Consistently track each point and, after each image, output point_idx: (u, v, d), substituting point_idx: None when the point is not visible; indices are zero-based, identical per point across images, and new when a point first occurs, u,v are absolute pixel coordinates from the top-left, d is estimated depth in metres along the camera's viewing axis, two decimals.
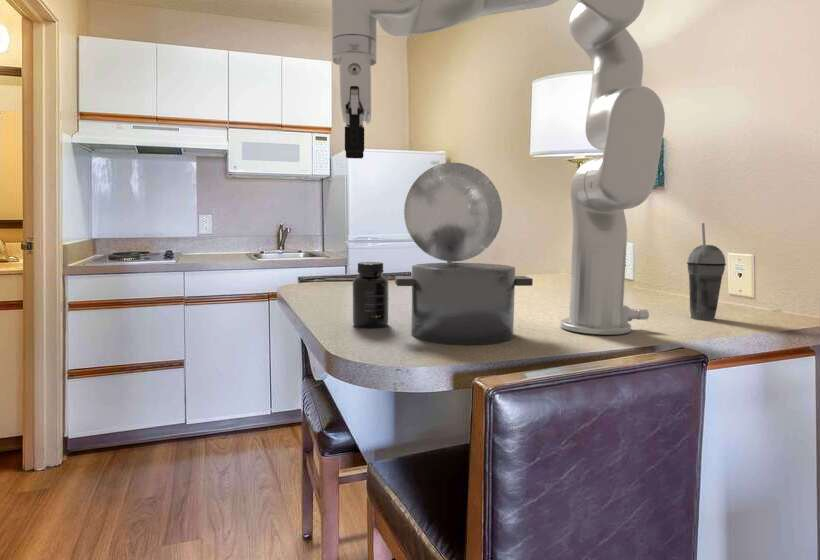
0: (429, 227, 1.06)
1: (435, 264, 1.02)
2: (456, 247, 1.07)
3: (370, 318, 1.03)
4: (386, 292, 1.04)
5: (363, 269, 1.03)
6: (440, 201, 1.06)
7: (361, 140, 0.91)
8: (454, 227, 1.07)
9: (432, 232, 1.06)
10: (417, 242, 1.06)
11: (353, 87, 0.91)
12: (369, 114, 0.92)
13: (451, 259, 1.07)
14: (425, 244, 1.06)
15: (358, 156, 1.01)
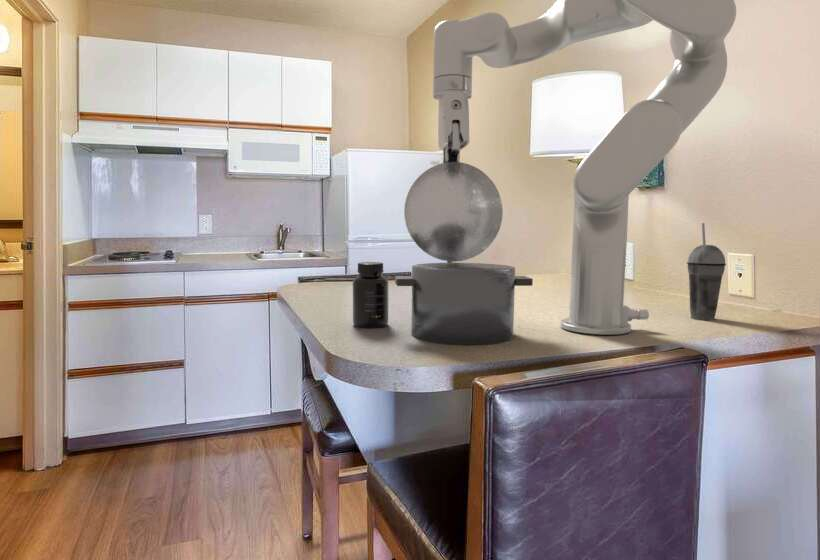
0: (429, 227, 1.06)
1: (435, 264, 1.02)
2: (456, 247, 1.07)
3: (370, 318, 1.03)
4: (386, 292, 1.04)
5: (363, 269, 1.03)
6: (440, 201, 1.06)
7: None
8: (454, 227, 1.07)
9: (432, 232, 1.06)
10: (417, 242, 1.06)
11: (454, 126, 1.05)
12: (467, 143, 1.06)
13: (451, 259, 1.07)
14: (425, 244, 1.06)
15: None
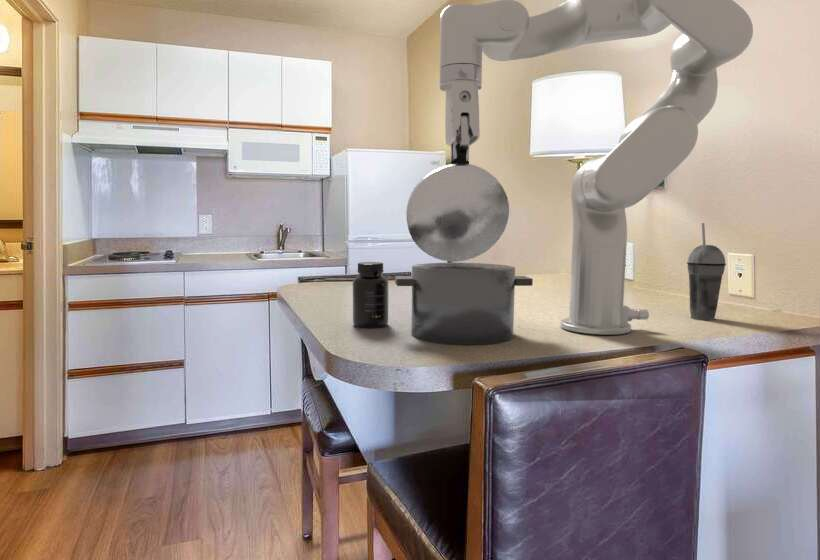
0: (431, 230, 1.03)
1: (435, 264, 1.02)
2: (457, 249, 1.06)
3: (370, 318, 1.03)
4: (386, 292, 1.04)
5: (363, 269, 1.03)
6: (445, 205, 1.01)
7: None
8: (457, 230, 1.04)
9: (434, 235, 1.04)
10: (418, 244, 1.04)
11: (463, 120, 0.96)
12: (477, 138, 0.97)
13: (451, 259, 1.07)
14: (426, 246, 1.05)
15: None
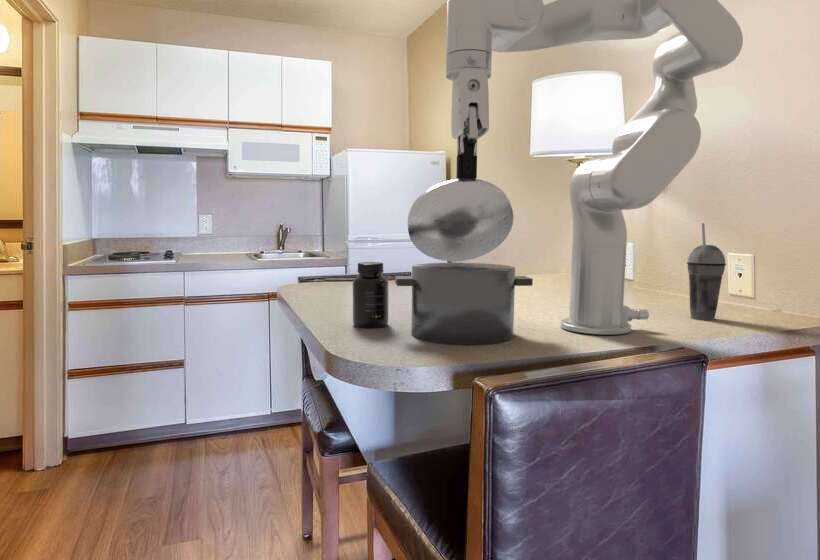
0: (432, 237, 1.02)
1: (435, 264, 1.02)
2: (458, 251, 1.05)
3: (370, 318, 1.03)
4: (386, 292, 1.04)
5: (363, 269, 1.03)
6: (447, 217, 0.98)
7: (474, 168, 0.94)
8: (459, 237, 1.02)
9: (435, 240, 1.02)
10: (419, 248, 1.03)
11: (471, 110, 0.89)
12: (487, 131, 0.90)
13: (451, 260, 1.07)
14: (427, 249, 1.04)
15: None
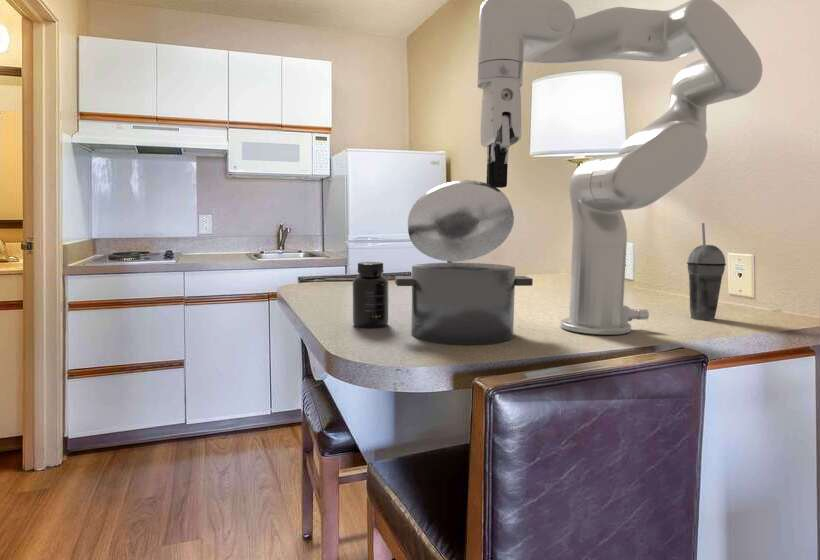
0: (433, 238, 1.01)
1: (435, 264, 1.02)
2: (458, 252, 1.05)
3: (370, 318, 1.03)
4: (386, 292, 1.04)
5: (363, 269, 1.03)
6: (448, 218, 0.98)
7: (504, 176, 0.95)
8: (459, 238, 1.02)
9: (435, 241, 1.02)
10: (419, 248, 1.03)
11: (504, 120, 0.90)
12: (519, 140, 0.91)
13: (451, 260, 1.07)
14: (427, 250, 1.04)
15: None
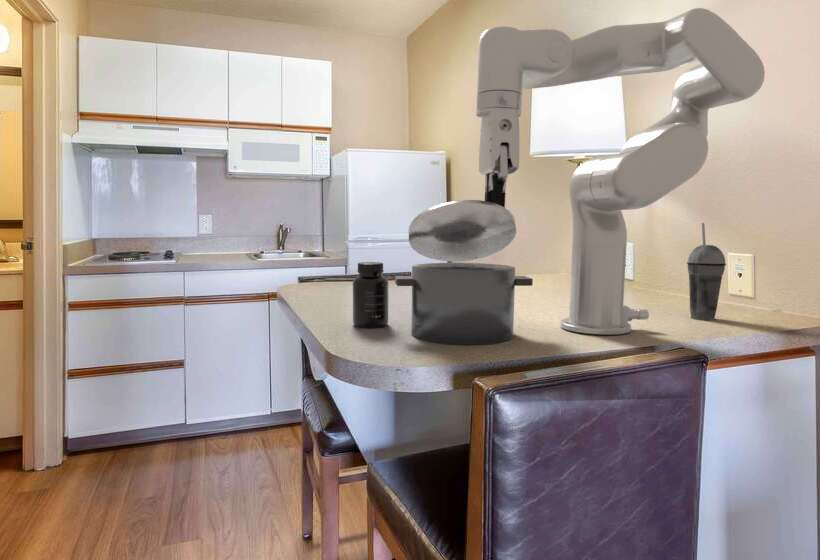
0: (433, 244, 1.01)
1: (435, 264, 1.02)
2: (458, 254, 1.05)
3: (370, 318, 1.03)
4: (386, 292, 1.04)
5: (363, 269, 1.03)
6: (449, 231, 0.96)
7: (502, 204, 0.95)
8: (460, 245, 1.01)
9: (436, 247, 1.01)
10: (419, 252, 1.03)
11: (502, 150, 0.91)
12: None
13: (451, 260, 1.07)
14: (427, 253, 1.03)
15: None
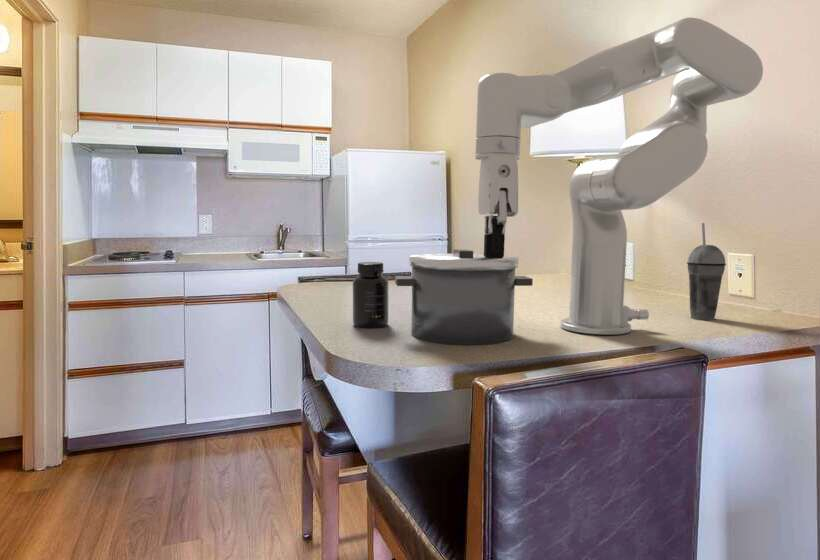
0: None
1: None
2: None
3: (370, 318, 1.03)
4: (386, 292, 1.04)
5: (363, 269, 1.03)
6: None
7: (501, 247, 0.96)
8: None
9: None
10: None
11: (501, 195, 0.91)
12: (516, 214, 0.92)
13: None
14: None
15: None
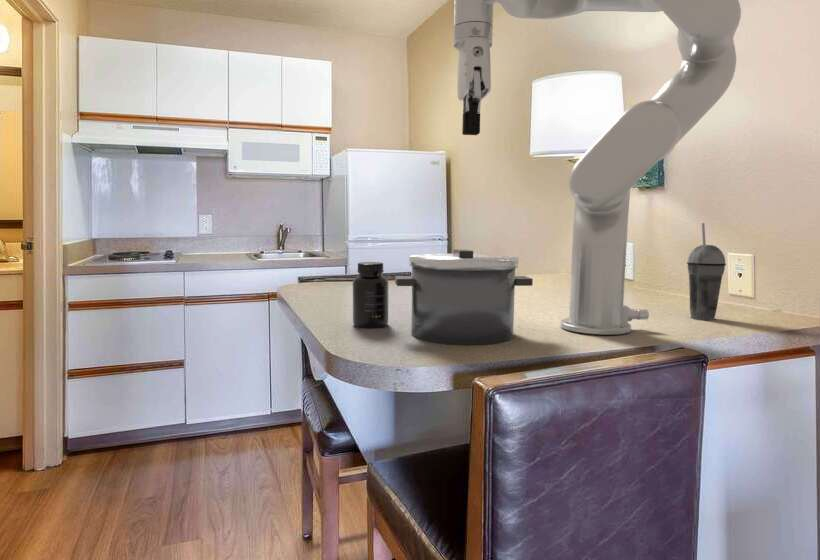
0: None
1: None
2: None
3: (370, 318, 1.03)
4: (386, 292, 1.04)
5: (363, 269, 1.03)
6: None
7: (477, 124, 1.09)
8: None
9: None
10: None
11: (476, 73, 1.05)
12: (489, 91, 1.05)
13: None
14: None
15: None
